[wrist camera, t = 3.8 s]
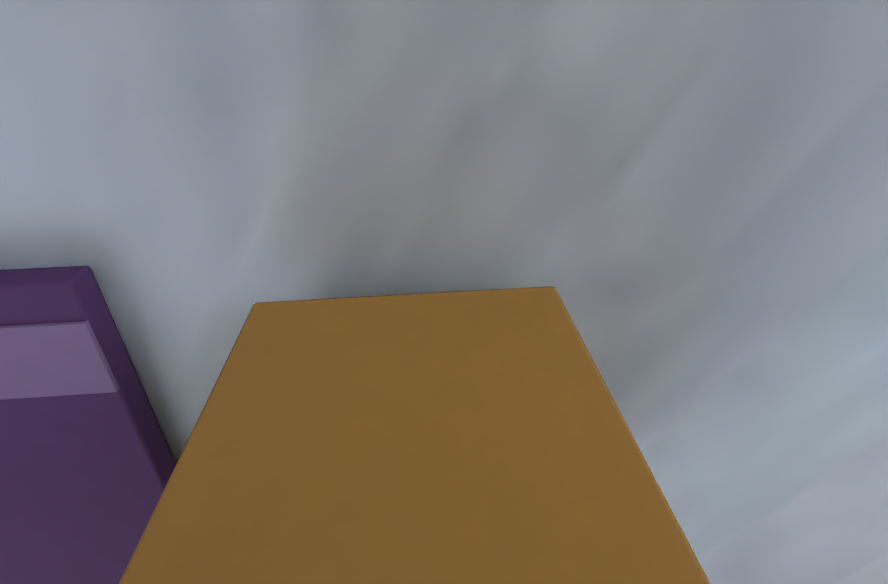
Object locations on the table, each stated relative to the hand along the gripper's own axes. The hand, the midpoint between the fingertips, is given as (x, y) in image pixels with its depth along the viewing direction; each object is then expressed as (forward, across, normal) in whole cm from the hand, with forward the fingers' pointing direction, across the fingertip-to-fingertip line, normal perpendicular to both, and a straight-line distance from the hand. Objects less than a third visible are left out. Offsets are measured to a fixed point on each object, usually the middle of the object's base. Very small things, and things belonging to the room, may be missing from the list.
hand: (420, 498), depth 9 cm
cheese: (+1, 0, 0) cm, 1 cm away
